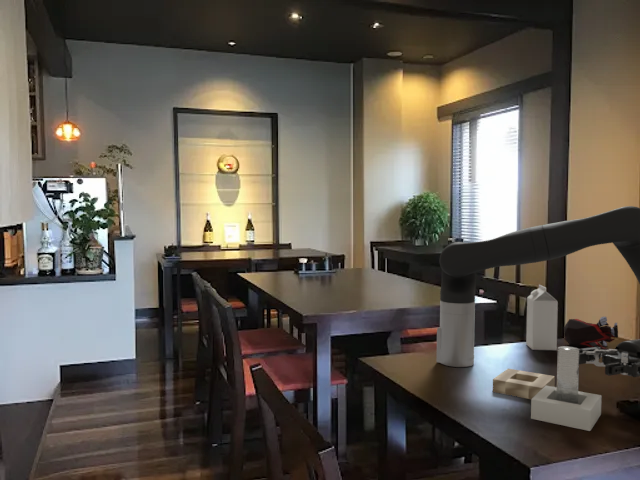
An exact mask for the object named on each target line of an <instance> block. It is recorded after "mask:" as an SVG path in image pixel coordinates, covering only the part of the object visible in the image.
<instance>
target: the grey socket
mask: <svg viewBox="0 0 640 480" xmlns="http://www.w3.org/2000/svg"><path fill="white" fill-rule="evenodd" d="M556 397H557V386H555V387H552V386H545V387H544V388H543V389H542V390H541V391H540V392H538V393H537V394H536V395H535V396H534V397H533V398H532V399H530V404H531V405H530V419H531V420H537V421H540V422H541V421H542V422H545V423H550V424H555V425H559V426H560V425H561V426H565V427H568V428H574V429H578V430H584V431H588V432H590V431H592V429H593V427H594V426H595V424H596V423H597V422H598V420H599V418H600V417H601V415H602V395H601V394H596V393H589V392H585V391H584V392H583V391H579V390H578V404H573V403H568V402H563V401H558V400H556Z"/></svg>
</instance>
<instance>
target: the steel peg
mask: <svg viewBox="0 0 640 480" xmlns="http://www.w3.org/2000/svg"><path fill="white" fill-rule="evenodd" d="M579 349H580V348H579V347H575V346H567V345H566V346H563V345H562V346H557V362H556V363H557V366H556V387H557V397H556V400H558V401H563V402H568V403H573V404H578V391H579V375H580V374H579V370H580V364H579Z"/></svg>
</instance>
